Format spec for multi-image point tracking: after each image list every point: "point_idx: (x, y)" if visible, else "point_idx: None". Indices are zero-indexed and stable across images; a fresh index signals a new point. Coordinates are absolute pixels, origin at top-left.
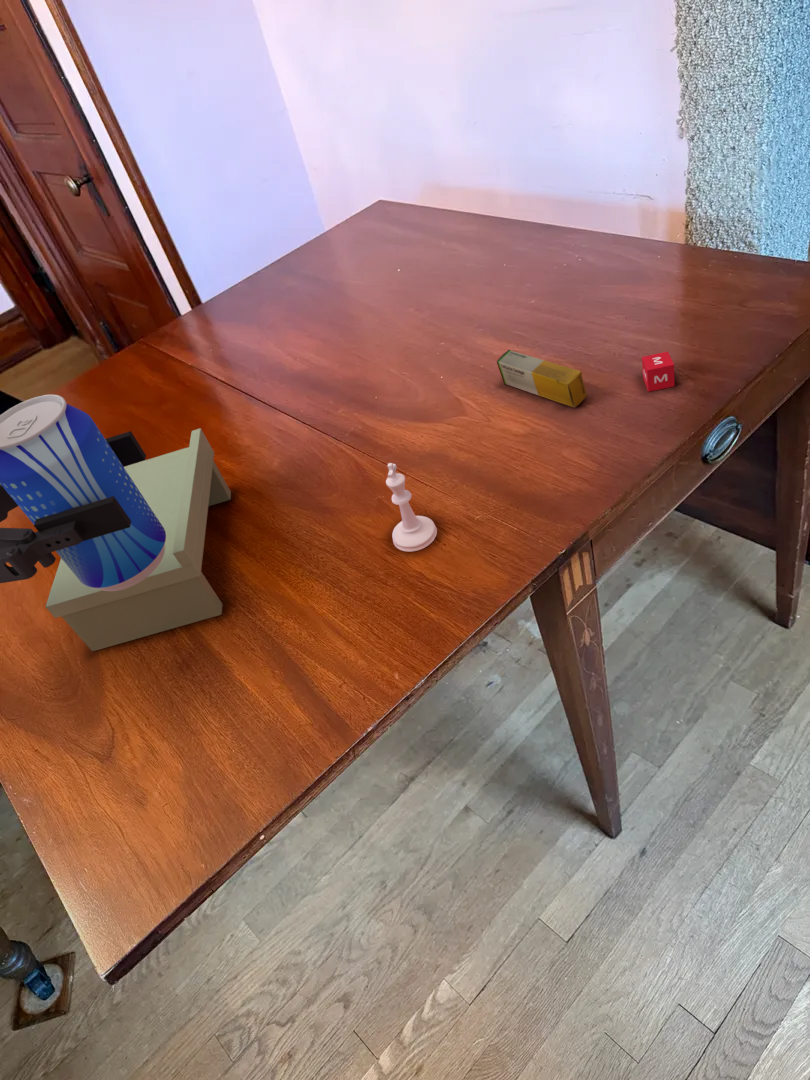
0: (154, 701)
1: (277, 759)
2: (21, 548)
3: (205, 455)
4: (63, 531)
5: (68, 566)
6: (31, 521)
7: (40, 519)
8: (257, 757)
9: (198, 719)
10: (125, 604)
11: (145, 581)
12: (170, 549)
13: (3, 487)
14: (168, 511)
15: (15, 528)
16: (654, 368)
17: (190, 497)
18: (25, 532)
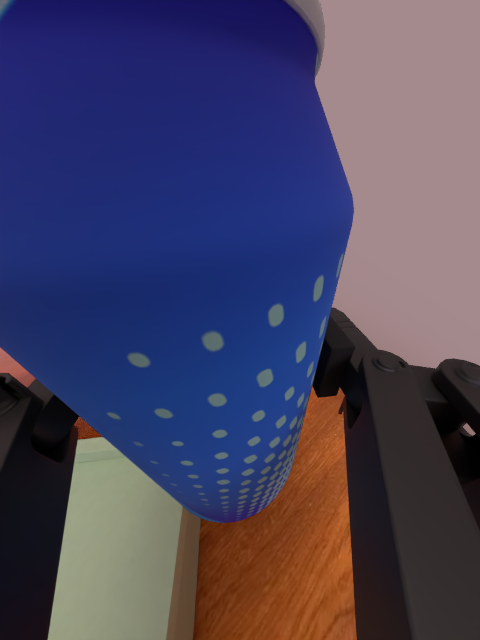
0: (295, 542)
1: (335, 403)
2: (422, 378)
3: None
4: (343, 317)
5: (284, 475)
6: (292, 420)
7: (331, 339)
8: (337, 416)
9: (312, 473)
10: (180, 588)
11: (183, 512)
12: None
13: (310, 315)
14: None
15: (371, 405)
16: None
17: (96, 438)
18: (386, 356)
